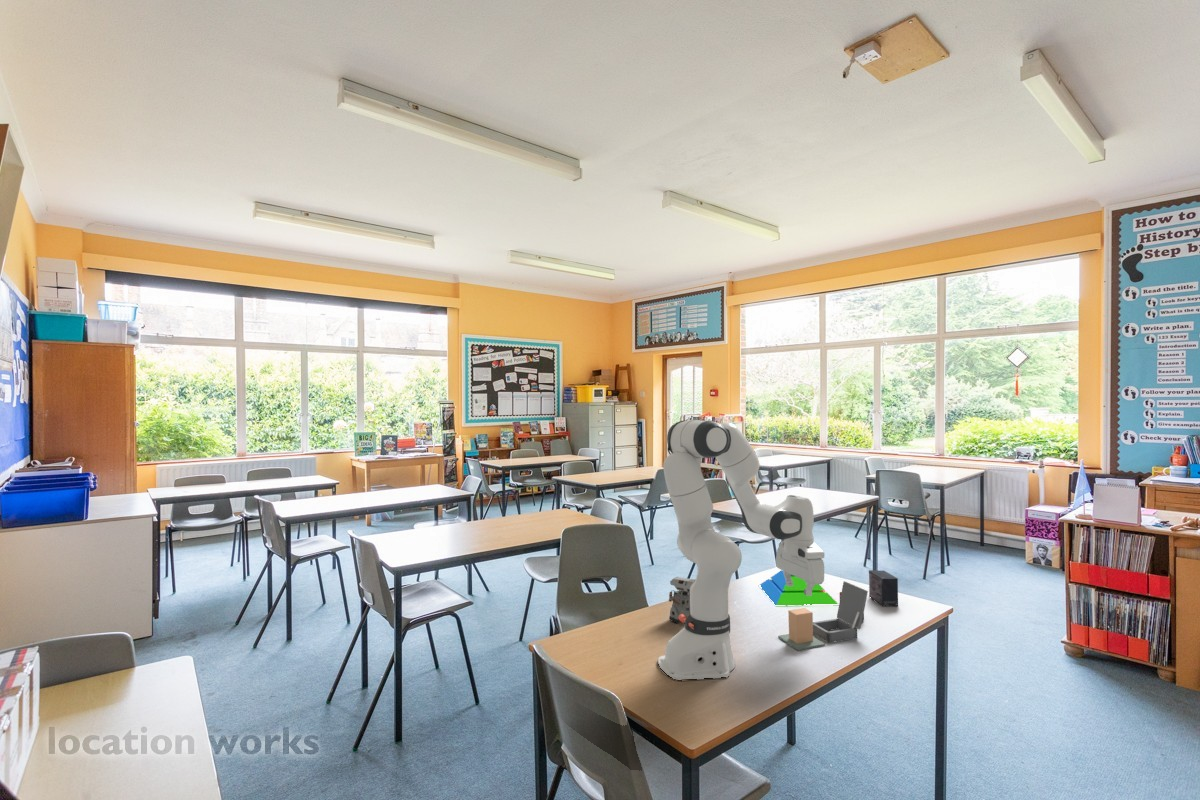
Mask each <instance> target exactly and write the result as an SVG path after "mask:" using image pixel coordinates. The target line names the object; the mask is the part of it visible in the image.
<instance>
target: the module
mask: <svg viewBox="0 0 1200 800" xmlns="http://www.w3.org/2000/svg"><path fill="white" fill-rule="evenodd" d="M787 611H788V634H789V639H791V640H792V641H794V642H795V643H797V644H798V643H804V642H810V641H813V637H814V634H813V622H814V619H813V618H814V617H813V611H811V610H809V609H808V608H805V607H804V608H803V607H802V608H795V609H788V610H787Z"/></svg>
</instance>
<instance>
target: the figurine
mask: <svg viewBox="0 0 1200 800" xmlns="http://www.w3.org/2000/svg"><path fill="white" fill-rule="evenodd" d="M695 580H696V578H695V579H692V578H687V577H682V576H681V577H679V576H676V577H673V578H672V579H671V580H670V582H669V583H670V586H674V588H675V589H676V590H671V591H669V595H668V597H669V598H668V602H671V603H672V604H671V607H670V611H669V617H668V620H670V621H671V620H672V621H673V623H675V622H676V623H677V624H679V623H681V621H680V620H679V615H680V614H683V615H684V616H686V618H687V617H688V615H689V613H690V587H691V585H692V584H693V583H694V582H695ZM676 623H675V624H676Z"/></svg>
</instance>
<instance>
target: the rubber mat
mask: <svg viewBox="0 0 1200 800" xmlns="http://www.w3.org/2000/svg"><path fill="white" fill-rule="evenodd" d="M777 637H778V639H779V640H781V641H783V642H784V643H786V644H787V645H789V646H791V648H793V649H794V650H796V651H802V650H808V649H813V648H814V649H815V648H821V647H825V646H826V644H825V643H824V642H823V641H821V640H820V639H818V638H816V637H815V636H813V641H810V642H804V643H798V644H797V643H795V642H794V641H792V640H791V639H789V633H788V634H787V633H786V634H781V635H780V634H779V635H778V636H777Z"/></svg>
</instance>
